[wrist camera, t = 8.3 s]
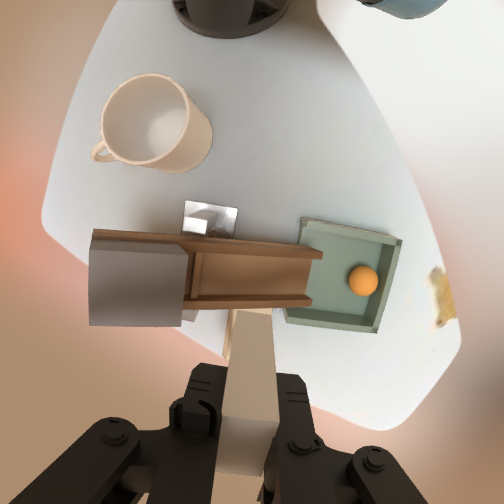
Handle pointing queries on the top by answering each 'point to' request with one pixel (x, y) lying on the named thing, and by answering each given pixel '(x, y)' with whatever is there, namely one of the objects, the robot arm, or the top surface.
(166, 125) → the mug
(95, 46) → the top surface
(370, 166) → the top surface
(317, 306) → the tray
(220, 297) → the lever
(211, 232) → the stand
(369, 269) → the ball
